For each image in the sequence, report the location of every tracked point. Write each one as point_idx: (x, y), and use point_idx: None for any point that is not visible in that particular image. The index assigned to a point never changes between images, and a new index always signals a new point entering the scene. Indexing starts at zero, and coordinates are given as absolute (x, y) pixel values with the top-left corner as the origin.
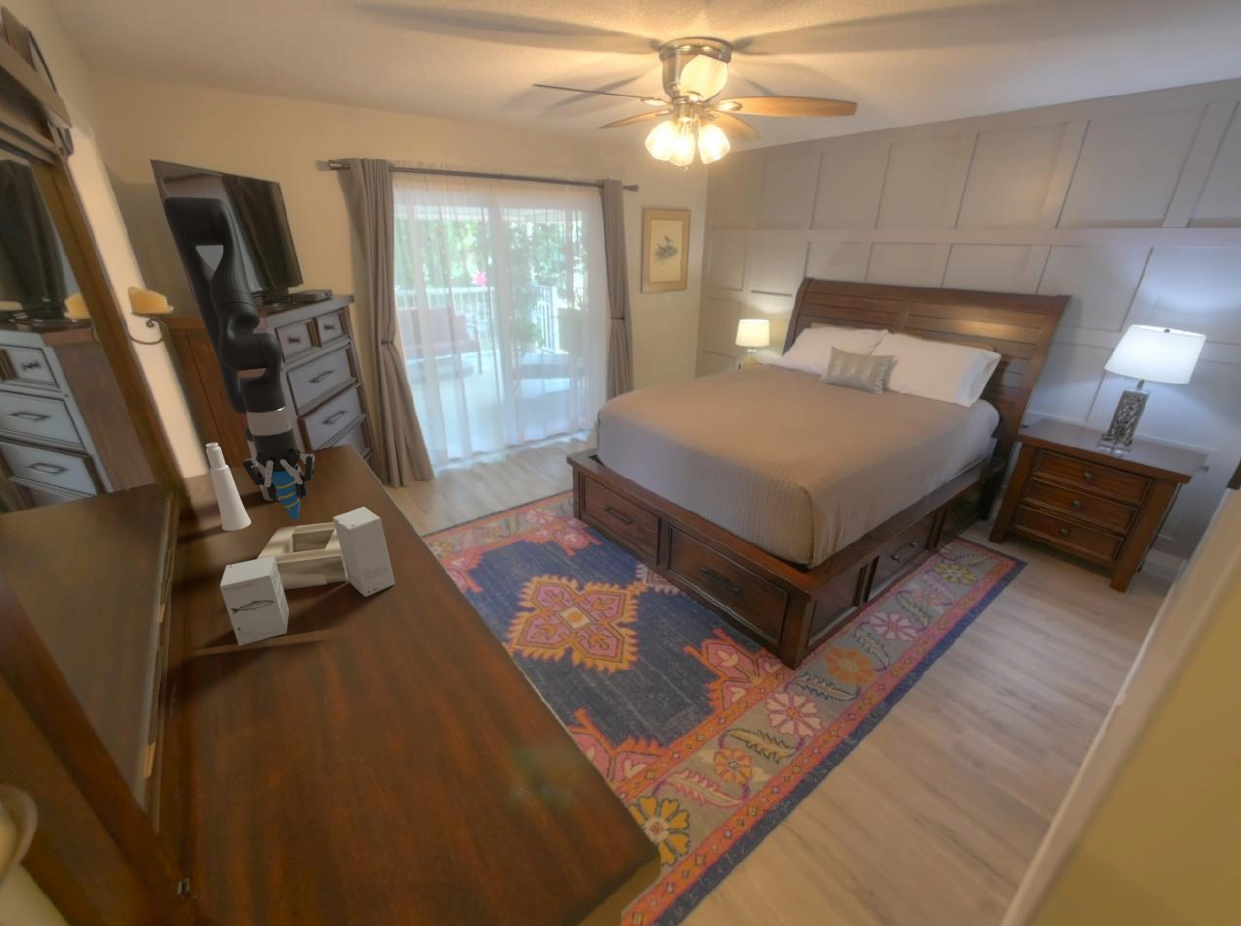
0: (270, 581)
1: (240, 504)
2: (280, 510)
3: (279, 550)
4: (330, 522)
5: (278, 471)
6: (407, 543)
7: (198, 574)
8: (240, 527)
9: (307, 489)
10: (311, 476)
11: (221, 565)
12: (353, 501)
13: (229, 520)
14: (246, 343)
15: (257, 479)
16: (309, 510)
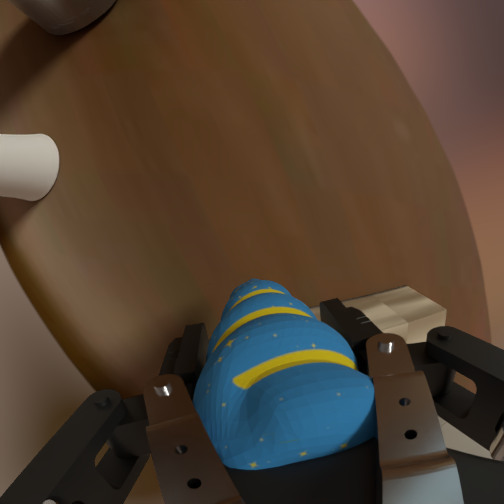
0: None
1: (10, 160)
2: (98, 66)
3: None
4: (387, 330)
5: None
6: (475, 289)
7: (97, 382)
8: (46, 188)
9: (365, 319)
10: (454, 384)
11: (114, 359)
12: (298, 21)
13: (17, 195)
14: None
15: (133, 473)
16: (182, 60)
